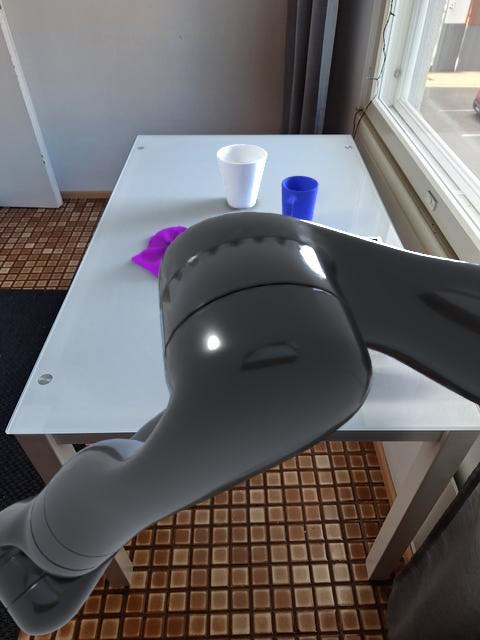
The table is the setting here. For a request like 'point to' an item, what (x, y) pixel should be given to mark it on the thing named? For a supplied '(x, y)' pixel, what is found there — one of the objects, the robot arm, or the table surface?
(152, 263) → the cloth
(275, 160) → the table surface
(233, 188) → the cup
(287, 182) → the mug
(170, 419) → the robot arm
